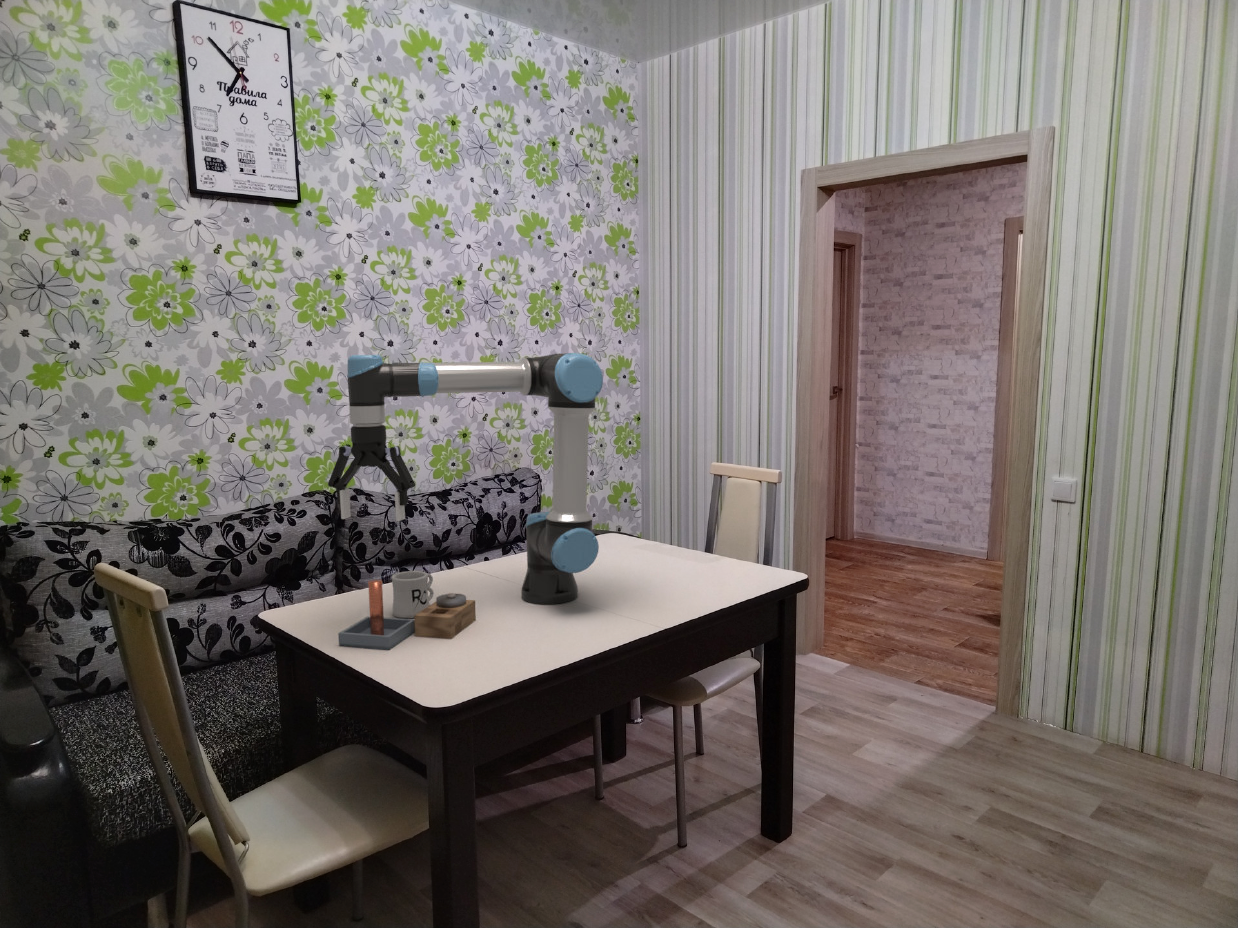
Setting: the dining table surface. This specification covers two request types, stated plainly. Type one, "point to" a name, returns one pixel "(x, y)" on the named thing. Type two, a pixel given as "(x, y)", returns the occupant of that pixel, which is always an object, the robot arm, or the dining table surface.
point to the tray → (363, 638)
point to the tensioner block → (445, 617)
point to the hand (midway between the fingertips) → (373, 518)
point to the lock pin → (376, 607)
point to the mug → (411, 593)
